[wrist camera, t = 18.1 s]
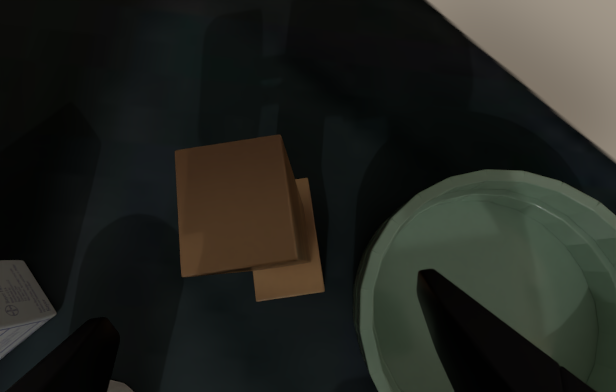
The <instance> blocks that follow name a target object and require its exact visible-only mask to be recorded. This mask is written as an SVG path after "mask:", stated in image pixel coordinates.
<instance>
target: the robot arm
mask: <svg viewBox="0 0 616 392" xmlns="http://www.w3.org/2000/svg"><path fill="white" fill-rule="evenodd" d="M416 291H417V297H418V300H419V303H420V306H421V309H422V312H423V315H424V318H425V321H426V324H427V327H428V330H429V333H430V336H431V339H432V342H433V344H434V347H435V350H436V352H437V355H438V357H439V359H440V361H441V364H442V366H443V368H444V370H445V372H446V374H447V377H448V379H449V381H450V383H451V385H452V387H453V390H454V392H597V391H595V390H594V389H593V388H591V387H590V386H588V385H587V384H586V383H584V382H583V381H582V380H580V379H579V378H578V377H576V376H575V375H574V374H572V373H571V372H570V371H568V370H567V369H566V368H564V367H563V366H559V363H558V362H556V361H555V360H554V359H552V358H551V357H550V356H548V355H547V354H546V353H544V352H543V351H542V350H540V349H539V348H538V347H536V346H535V345H534V344H533V343H531V342H530V341H529V340H527V339H526V338H525V337H523V336H522V335H521V334H519V333H518V332H517V331H515V330H514V329H513V328H511V327H510V326H509V325H507V324H506V323H505V322H503V321H502V320H501V319H499V318H498V317H497V316H496V315H494V314H493V313H492V312H490V311H489V310H488V309H486V308H485V307H484V306H482V305H481V304H480V303H478V302H477V301H476V300H474V299H473V298H472V297H470V296H469V295H468V294H466V293H465V292H464V291H463V290H461V289H460V288H459V287H457V286H456V285H455V284H453V283H452V282H451V281H449V280H448V279H447V278H445V277H444V276H443V275H441V274H440V273H439V272H437V271H436V270H435V269H424V270H419V272H418V275H417V288H416ZM119 342H120V336H119V333H118V332H117V330H116V329H115V328H114V326H113V325H112V324H111V322H110V321H109V320H108V319H107V318H105V317H100V318H93V319H90V320H88V321H87V322H85V323H84V324H83V325H82V326H81V327H80V328H78V329H77V330H76V331H75V332H74V333H73V334H72V335H70V336H69V337H68V338H67V339H66V340H65V341H63V342H62V343H61V344H60V345H59V346H58V347H56V348H55V349H54V350H53V351H52V352H51V353H50V354H48V355H47V356H46V357H45V358H44V359H43V360H41V361H40V362H39V363H38V364H37V365H36V366H34V367H33V368H32V369H31V370H30V371H29V372H28V373H26V374H25V375H24V376H23V377H22V378H21V379H19V380H18V381H17V382H16V383H15V384H14V385H12V386H11V387H10V388H9V389H8V390H7V391H5V392H107V391H108V387H109V383H110V379H111V375H112V371H113V367H114V363H115V359H116V355H117V350H118V346H119Z"/></svg>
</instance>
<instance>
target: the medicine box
mask: <svg viewBox="0 0 616 392" xmlns="http://www.w3.org/2000/svg"><path fill="white" fill-rule="evenodd" d="M55 315H56V311H55V309H54V308H53V306H52V305H51V303H50V301H49V300H48V298H47V297H46V295H45V294H44V292H43V291H42V289H41V287H40V286H39V284H38V283H37V281H36V279H35V278H34V276H33V275H32V273H31V272H30V270H29V268H28V267H27V265H26V264H25V262H24V261H22V260H0V359H2V358H3V357H4V356H5V355H6V354H8V353H9V352H10V351H11V350H12V349H14V348H15V347H16V346H17V345H19V344H20V343H21V342H22V341H24V340H25V339H26V338H27V337H28V336H30V335H31V334H32V333H33V332H35V331H36V330H37V329H38V328H40V327H41V326H42V325H43V324H44V323H46V322H47V321H48V320H49V319H51V318H52V317H54V316H55Z"/></svg>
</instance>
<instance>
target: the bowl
mask: <svg viewBox="0 0 616 392" xmlns="http://www.w3.org/2000/svg"><path fill="white" fill-rule="evenodd" d="M424 269H435V270H436V271H437V272H439V273H440V274H441V275H443V276H444V277H445V278H447V279H448V280H449V281H451V282H452V283H453V284H455V285H456V286H457V287H459V288H460V289H461V290H463V291H464V292H465V293H466V294H468V295H469V296H470V297H472V298H473V299H474V300H476V301H477V302H478V303H480V304H481V305H482V306H484V307H485V308H486V309H488V310H489V311H490V312H492V313H493V314H494V315H496V316H497V317H498V318H499V319H501V320H502V321H503V322H505V323H506V324H507V325H509V326H510V327H511V328H513V329H514V330H515V331H517V332H518V333H519V334H521V335H522V336H523V337H525V338H526V339H527V340H529V341H530V342H531V343H533V344H534V345H535V346H536V347H538V348H539V349H540V350H542V351H543V352H544V353H546V354H547V355H548V356H550V357H551V358H552V359H554V360H555V361H556V362H558V363H559V366H563V367H564V368H566V369H567V370H568V371H570V372H571V373H572V374H574V375H575V376H576V377H578V378H579V379H580V380H582V381H583V382H584V383H586V384H587V385H588V386H590V387H591V388H593V389H594V390H595V391H597V392H616V215H614V214H613V213H612V212H611V211H610V210H609V209H607V208H606V207H605V206H604V205H603V204H602V203H600V202H599V201H597V200H595V199H594V198H592V197H590V196H588V195H586V194H584V193H582V192H581V191H579V190H577V189H575V188H573V187H571V186H569V185H568V184H566V183H564V182H562V181H559V180H555V179H551V178H548V177H544V176H541V175H537V174H533V173H530V172H526V171H518V170H491V169H486V170H480V171H475V172H471V173H466V174H461V175H457V176H452V177H449V178H446V179H445V180H443V181H441V182H439V183H437V184H435V185H433V186H431V187H429V188H427V189H425V190H423V191H421V192H419V193H418V194H416V195H415V196H414V197H412V198H411V199H410V200H408V201H407V202H405V203H404V204H403V205H401V206H400V207H399V208H398V209H397V210H396V211H395V212H394V213H393V214H392V215H390V216H389V217H388V218H387V219H386V220H385V221H384V222H383V223H382V224H381V225H380V226H379V227H378V228H377V230H376V232H375V233H374V235H373V237H372V238H371V240H370V242H369V243H368V245H367V246H366V248H365V250H364V251H363V254H362V256H361V260H360V263H359V267H358V270H357V274H356V277H355V281H354V286H353V322H354V326H355V331H356V335H357V340H358V344H359V348H360V353H361V355H362V358H363V360H364V362H365V365H366V367H367V369H368V371H369V374H370V376H371V378H372V380H373V382H374V384H375V386H376V388H377V390H378V392H454V390H453V387H452V385H451V383H450V381H449V379H448V377H447V374H446V372H445V370H444V368H443V366H442V364H441V361H440V359H439V357H438V355H437V352H436V350H435V347H434V344H433V342H432V339H431V336H430V333H429V330H428V327H427V324H426V321H425V318H424V315H423V312H422V309H421V306H420V303H419V300H418V297H417V291H416V288H417V275H418V272H419V270H424Z"/></svg>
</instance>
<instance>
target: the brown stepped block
mask: <svg viewBox="0 0 616 392" xmlns="http://www.w3.org/2000/svg"><path fill="white" fill-rule="evenodd" d="M175 166H176V185H177V204H178V222H179V241H180V260H181V275H182V277H193V276H204V275H214V274H225V273H235V272H246V271H253V277H254V287H255V296H256V301H257V302H258V301H265V300H271V299H278V298H285V297H292V296H299V295H305V294H312V293H319V292H324V291H325V288H324V280H323V274H322V267H321V261H320V254H319V247H318V241H317V234H316V227H315V221H314V214H313V207H312V201H311V194H310V188H309V182H308V178H301V179H295V178H294V175H293V171H292V168H291V165H290V162H289V159H288V156H287V153H286V149H285V146H284V143H283V140H282V137H281V135H273V136H266V137H260V138H253V139H247V140H240V141H234V142H227V143H221V144H214V145H208V146H201V147H194V148H188V149H181V150H176V151H175Z"/></svg>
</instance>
